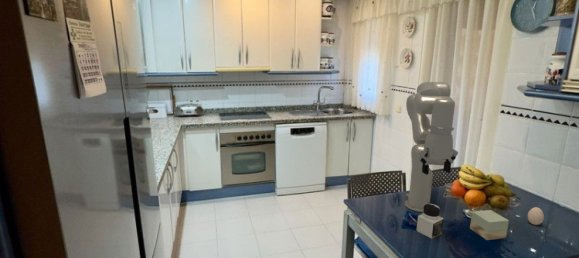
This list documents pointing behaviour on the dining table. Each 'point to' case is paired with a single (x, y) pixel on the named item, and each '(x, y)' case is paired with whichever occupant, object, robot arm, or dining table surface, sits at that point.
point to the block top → (489, 220)
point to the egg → (535, 216)
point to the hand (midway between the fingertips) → (435, 172)
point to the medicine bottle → (430, 221)
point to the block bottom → (486, 234)
